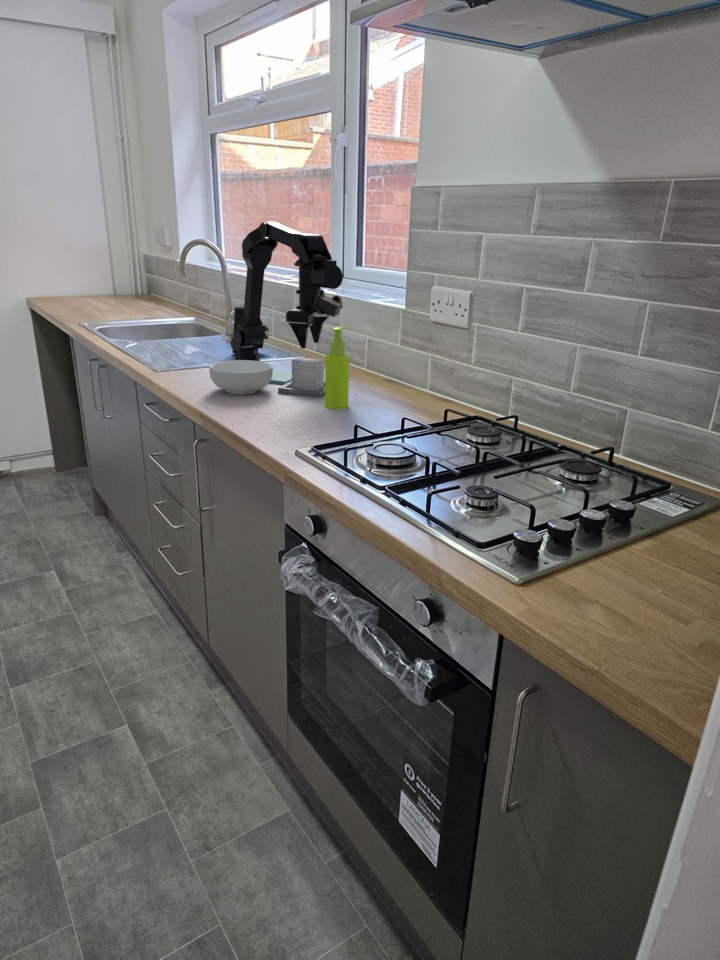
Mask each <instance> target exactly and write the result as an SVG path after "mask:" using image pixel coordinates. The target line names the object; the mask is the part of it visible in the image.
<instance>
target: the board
mask: <svg viewBox="0 0 720 960" xmlns="http://www.w3.org/2000/svg"><path fill="white" fill-rule="evenodd" d="M290 381H292V371H287V370H280V369H279V370H278V369H273V373H272V378H271V381H270V382H269V384H272V385H273V384H274V385H281V386H283V385H285V384H287V383H289V382H290Z"/></svg>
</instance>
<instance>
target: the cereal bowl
mask: <svg viewBox="0 0 720 960" xmlns="http://www.w3.org/2000/svg"><path fill="white" fill-rule="evenodd" d="M208 368H209V376H210V377H209V378H210V379H211V381H212V383H214V385H215V386H216V387H218V388H221V389H223V390H225V391H226V392H227V393H229V394H232V395H251V394H254V393H256V392H257V391H258V390H262V389H263V388H266V387H267V386H268V385H269V384H270V383H269V382H270V381H271V378H272V373H273V370H274V368H273V365H272V364H271V363H268V362H264V361H261V360H260V361H252V360H236V359H235V360H223V361H216V362H213V363H211V364H209V367H208Z"/></svg>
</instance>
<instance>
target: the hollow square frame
mask: <svg viewBox="0 0 720 960" xmlns="http://www.w3.org/2000/svg"><path fill="white" fill-rule="evenodd" d="M277 389H278V391H277V393H278V394H284V395H292V396H300V397H301V396H303V397H311V398H322V397H323V396H324V397H325V381H324V388H323V389H321V390H319V391H310V390H302V389H293V388H292V381H290V382H289V383H287V384H285V385H280V386H278V388H277Z"/></svg>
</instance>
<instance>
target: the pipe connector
mask: <svg viewBox="0 0 720 960" xmlns="http://www.w3.org/2000/svg"><path fill="white" fill-rule="evenodd" d="M243 314H244V306H243V307H241V306H240V307H239V306H235V307H234V315H233V316H234V317H233V332H232V333H233V336H234V334H235V333H236V329H237V323H238V322H239V320H240V319H241V318H242V316H243ZM265 326H266V330H265V332H270V331H269V329H270V328H269V326H268V325H265ZM233 336H232V337H233ZM264 340H269V335H268V334H267V333H265V338H264ZM232 354H234V355H236V350H234V349H232Z"/></svg>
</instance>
